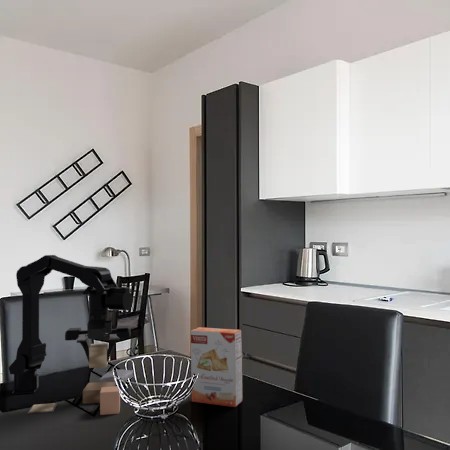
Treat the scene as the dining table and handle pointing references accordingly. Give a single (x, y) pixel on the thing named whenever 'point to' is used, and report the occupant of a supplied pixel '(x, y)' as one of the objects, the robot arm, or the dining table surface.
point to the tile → (42, 408)
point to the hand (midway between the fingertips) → (98, 361)
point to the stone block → (121, 373)
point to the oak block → (98, 355)
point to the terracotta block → (109, 400)
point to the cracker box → (216, 366)
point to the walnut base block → (94, 391)
